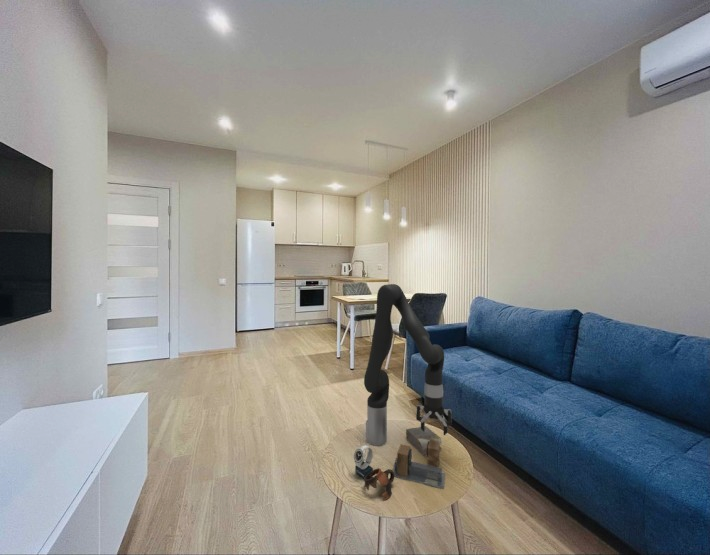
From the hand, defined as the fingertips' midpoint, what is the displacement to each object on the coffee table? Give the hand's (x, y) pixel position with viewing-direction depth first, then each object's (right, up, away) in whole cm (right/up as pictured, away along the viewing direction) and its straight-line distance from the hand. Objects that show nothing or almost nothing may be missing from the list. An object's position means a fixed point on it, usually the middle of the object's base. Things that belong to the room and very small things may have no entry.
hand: (434, 432), depth 124 cm
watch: (-30, -14, -7) cm, 33 cm away
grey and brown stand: (-8, -13, -7) cm, 17 cm away
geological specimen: (-1, -14, +14) cm, 20 cm away
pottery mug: (-24, -14, -15) cm, 31 cm away
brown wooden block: (0, -13, 0) cm, 13 cm away
